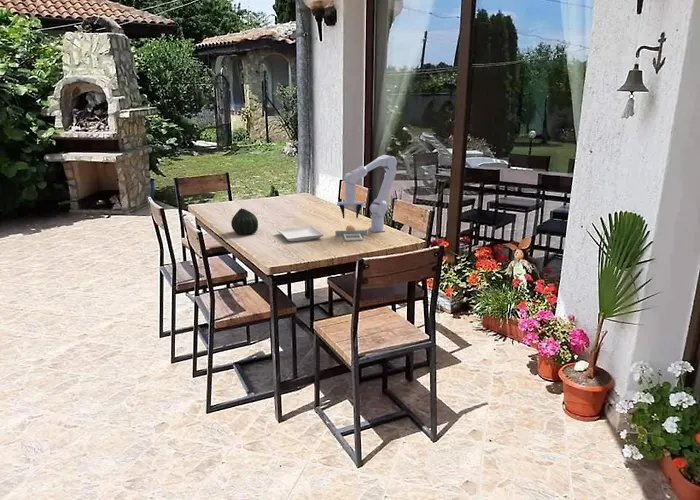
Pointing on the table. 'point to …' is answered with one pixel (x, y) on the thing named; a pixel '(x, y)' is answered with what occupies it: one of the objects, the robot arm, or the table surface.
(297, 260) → the table surface
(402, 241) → the table surface
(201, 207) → the table surface
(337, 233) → the low wall
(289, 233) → the salad plate
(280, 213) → the table surface
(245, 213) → the squash
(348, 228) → the ball
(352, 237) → the white square tray
